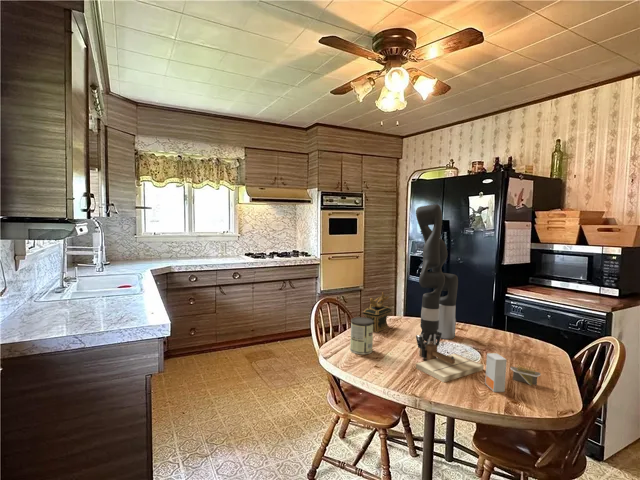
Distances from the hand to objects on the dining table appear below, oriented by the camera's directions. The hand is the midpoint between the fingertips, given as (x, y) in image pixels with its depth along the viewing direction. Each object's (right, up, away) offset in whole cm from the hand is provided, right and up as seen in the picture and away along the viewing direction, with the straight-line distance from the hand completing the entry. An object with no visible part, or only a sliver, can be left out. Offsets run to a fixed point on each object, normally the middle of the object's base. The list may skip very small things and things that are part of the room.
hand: (427, 356), depth 154 cm
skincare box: (+17, -4, -24) cm, 30 cm away
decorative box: (-14, +1, +44) cm, 46 cm away
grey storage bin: (+31, -4, -19) cm, 36 cm away
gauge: (+2, -1, -4) cm, 5 cm away
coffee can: (-28, 0, +9) cm, 29 cm away
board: (+6, -2, -9) cm, 11 cm away
